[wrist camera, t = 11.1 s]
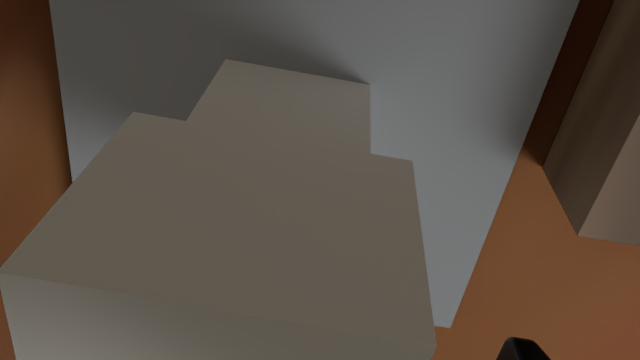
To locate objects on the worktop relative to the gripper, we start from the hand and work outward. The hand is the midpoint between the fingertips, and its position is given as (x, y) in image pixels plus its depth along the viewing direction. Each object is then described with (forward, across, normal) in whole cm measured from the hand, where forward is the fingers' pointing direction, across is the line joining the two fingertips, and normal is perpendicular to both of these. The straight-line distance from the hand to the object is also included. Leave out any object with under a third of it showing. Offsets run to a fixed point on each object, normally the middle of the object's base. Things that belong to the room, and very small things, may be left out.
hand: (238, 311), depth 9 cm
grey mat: (+7, 0, 0) cm, 7 cm away
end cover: (+6, 0, 0) cm, 6 cm away
